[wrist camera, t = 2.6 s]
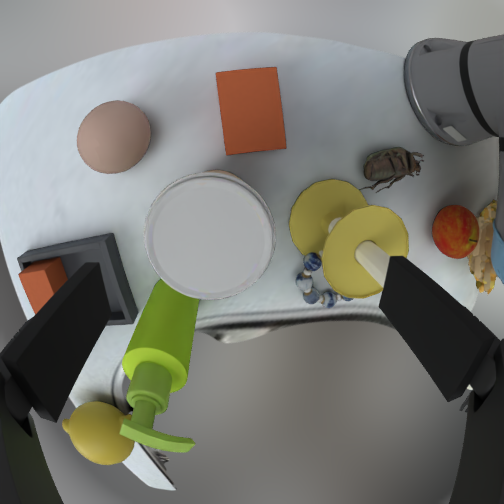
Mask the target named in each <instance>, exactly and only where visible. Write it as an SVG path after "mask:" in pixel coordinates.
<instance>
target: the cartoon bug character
mask: <svg viewBox="0 0 504 504" xmlns="http://www.w3.org/2000/svg"><path fill="white" fill-rule="evenodd" d="M496 209H497V202H496V201H495V200H493V201H492V202H491V203H490V205H488V206H487V208H484V210H483V211H482V212H481V213H480V216H479V218H478V217H476V219H477V221H478V224H479V241H478V244H477V246H476V247H475V249H474V250H473V251H472V252H471V253H470V254H469V255H468V256H467V257H468V259H469V263H468V265H469V266H470V272H471V274H474V277H475V278H476V286H477V289H478V288H479V287H480V288H479V292H480V293H481V292H483V291H485V292H488V294H489V293H490V292H491V290H492V289H493V288H494V285H495V280H496V276H497V274H496V272H495V270H494V268H493V265H492V262H491V247H492V239H493V231H494V230H493V221H494V219H495V217H496ZM497 277H498V276H497Z"/></svg>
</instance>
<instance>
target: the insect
mask: <svg viewBox="0 0 504 504" xmlns="http://www.w3.org/2000/svg"><path fill="white" fill-rule="evenodd" d="M413 155H416V156H419V157H422V156H424V155H422V154H421V153H418V152H412V153H410V152H409V151H407V150H405V149H403V148H401V147H395V148H392V149H387V150H383V151H379V152H376V153H373V154H370V155H369V156H368V157H367V160H366V163H365V165H364V175H365V178H366V179H368V180H371V181H377V180H379V181H378V182H377V183H375V184H374V185H372V187H365V188H371V189H372V190H373V189H374V188H375V187H376V186H377V185H378V184H380V183H386V182H389V181H391V180H392V179H394V178H396V179H394V181H392V182H391V183H390V185H389V186H387V187H384V188H390V187H391V186H392V184H393V183H394V182H396V181H399V180H401V179H402V178H403V177H405V175H406V174H407V175H410V176H414V175H413V174H410V173H412V172H414V170H415V171H416V173H417V172H420V170H421V167H420V165H419V163H420V161H423V162H424V160H420V161H419V162H418V161H417V160H415V158H414V157H413ZM416 175H419V174H416ZM365 188H362V189H365ZM384 188H382V189H384ZM382 189H380V190H382ZM359 190H361V189H359ZM380 190H379V191H380ZM379 191H377V192H379ZM377 192H376V193H377Z"/></svg>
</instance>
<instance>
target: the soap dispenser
mask: <svg viewBox="0 0 504 504" xmlns="http://www.w3.org/2000/svg"><path fill="white" fill-rule="evenodd" d="M198 305H199V299H197V298H192V297H189V296H186V295H184V294H182V293H180V292H178V291H176V290H174V289H173V288H171V287H170V286H169V285H168V284H166V283H165V282H164V281H163V280H162V279H160V280H159V281H158V282H157V283H156V285H155V286H154V289H153V291H152V293H151V295H150V297H149V299H148V302H147V304H146V306H145V308H144V310H143V313H142V315H141V317H140V319H139V322H138V324H137V326H136V329H135V331H134V333H133V336H132V338H131V340H130V343H129V345H128V348H127V350H126V353H125V355H124V357H123V361H122V366H123V370H124V372H125V374H126V375H127V376H128V378H129V379H130V380H131V382H130V385H129V388H128V391H127V395H126V399H127V401H128V403H129V404H130V405H131V406H132V407H133V408H134V410H133V413H132V417H131V421H130V420H128V419H126V418H124V420H123V423H122V426H121V429H120V433H119V434H120V435H122V436H125V437H127V438H129V439H131V440H133V441H136V442H138V443H141V444H143V445H146V446H149V447H152V448H155V449H160V450H164V451H170V452H188V451H189V450H190V449H191V448H192V447H193V446H194V445H195V442H194V441H193V440H192V439H191V438H183V437H176V436H171V435H167V434H164V433H161V432H158V431H155V430H153V429H152V428H153V423H154V417H155V415H158V414H162V413H164V412H165V411H166V410H167V407H168V402H169V396H170V393H172V392H175V391H178V390H180V389H181V388H182V387H183V386H184V385H185V384H186V382H187V377H188V370H189V363H190V356H191V349H192V342H193V336H194V329H195V323H196V317H197V311H198Z"/></svg>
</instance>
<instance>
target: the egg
mask: <svg viewBox="0 0 504 504" xmlns="http://www.w3.org/2000/svg"><path fill="white" fill-rule="evenodd" d="M150 138H151V130H150V124H149V121H148V119H147V117H146V115H145V113H144V112H143V111H142V110H141V109H140V108H138V107H137V106H135V105H134V104H132V103H129V102H125V101H118V100H117V101H110V102H106V103H103V104H101V105H99V106H97V107H96V108H94V109H93V110H92V111H91V112H90V113H89V114H88V115H87V116H86V117H85V118H84V120H83V121H82V123H81V125H80V127H79V130H78V135H77V147H78V151H79V154H80V156H81V157H82V159H83V160H84V162H85V163H86V164H87V165H88V166H89V167H90V168H91V169H93V170H95V171H98V172H101V173H106V174H113V173H120V172H124V171H126V170H128V169H130V168H131V167H133V166H134V165H135V164H137V163H138V162H139V161H140V160H141V158H142V157H143V156H144V154H145V153H146V151H147V149H148V146H149V143H150Z"/></svg>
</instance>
